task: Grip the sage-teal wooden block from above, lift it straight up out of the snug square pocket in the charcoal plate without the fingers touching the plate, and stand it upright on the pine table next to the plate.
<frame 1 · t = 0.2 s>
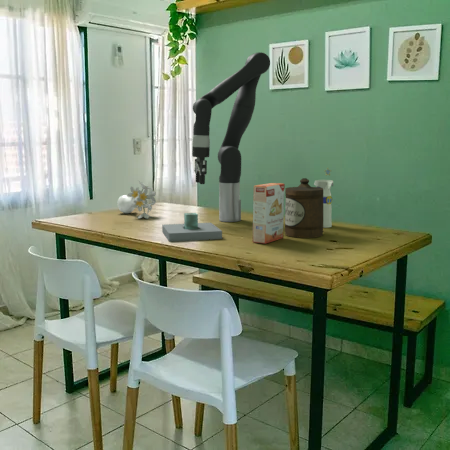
hand: (200, 183, 244), 17 cm above the table, tool pointing down, fingers open, 8 cm apart
teal block: (191, 224, 215), in the pocket plate
cracker box: (268, 241, 205), on the table
white spray bottle: (323, 226, 236), on the table
pocket plate: (191, 235, 216), on the table
wooden container: (303, 235, 217), on the table
flower vase: (135, 215, 266), on the table
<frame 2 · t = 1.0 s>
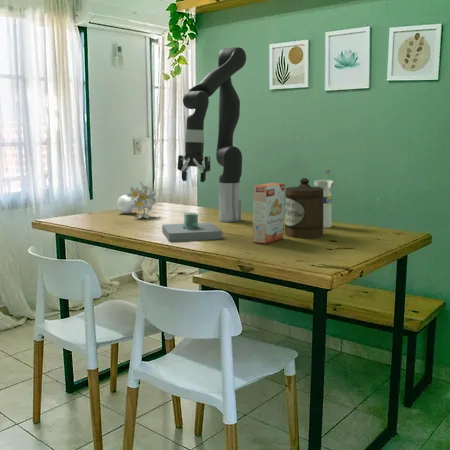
hand: (193, 181, 227), 20 cm above the table, tool pointing down, fingers open, 8 cm apart
nothing on the table moved.
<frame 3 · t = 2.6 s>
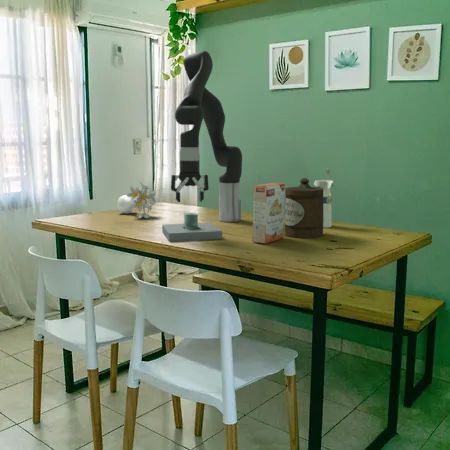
hand: (189, 201, 213), 13 cm above the table, tool pointing down, fingers open, 8 cm apart
nothing on the table moved.
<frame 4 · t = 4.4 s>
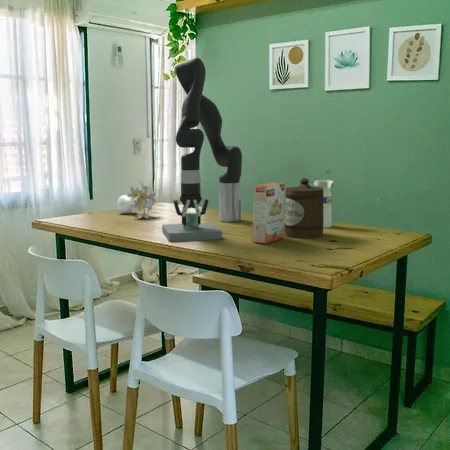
hand: (191, 225, 215), 4 cm above the table, tool pointing down, fingers closed on teal block, 4 cm apart
teal block: (191, 224, 215), in the pocket plate, touching gripper
everything else where it was.
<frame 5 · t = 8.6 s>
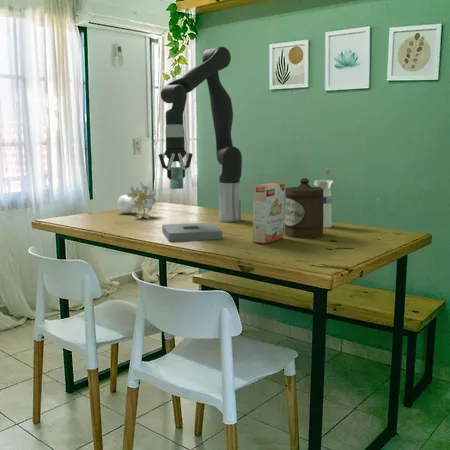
hand: (176, 178, 225), 21 cm above the table, tool pointing down, fingers closed on teal block, 4 cm apart
teal block: (176, 177, 224), point 21 cm above the table, touching gripper
everything else where it was.
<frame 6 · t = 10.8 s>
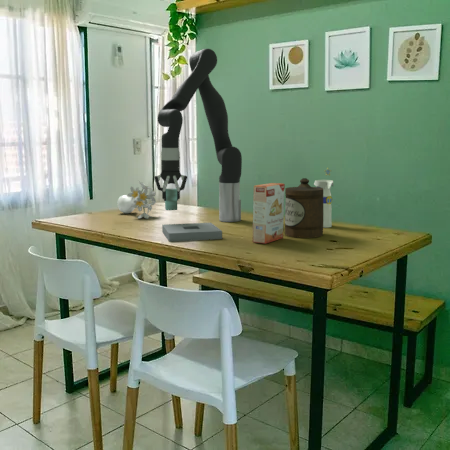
hand: (171, 200, 230), 12 cm above the table, tool pointing down, fingers closed on teal block, 4 cm apart
teal block: (171, 199, 230), point 12 cm above the table, touching gripper
everything else where it was.
when the fingers open (5 cm above the table, at t = 12.8 s): teal block drops 1 cm, on the table.
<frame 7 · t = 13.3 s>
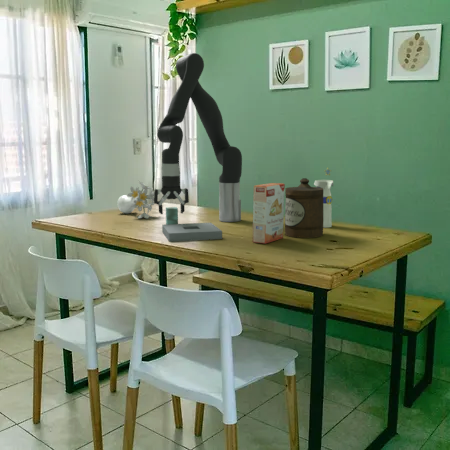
hand: (171, 213, 231), 6 cm above the table, tool pointing down, fingers open, 8 cm apart
teal block: (171, 218, 231), on the table
everything else where it was.
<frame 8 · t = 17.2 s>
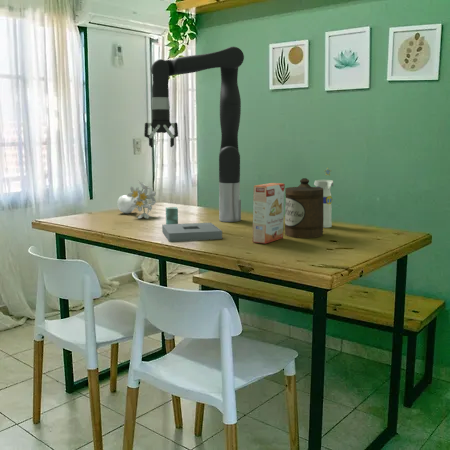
hand: (161, 147, 238), 33 cm above the table, tool pointing down, fingers open, 8 cm apart
nothing on the table moved.
at the end: teal block inside the target area (0.1 cm from its centre), on the table; teal block tilted 0°; teal block touching table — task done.
